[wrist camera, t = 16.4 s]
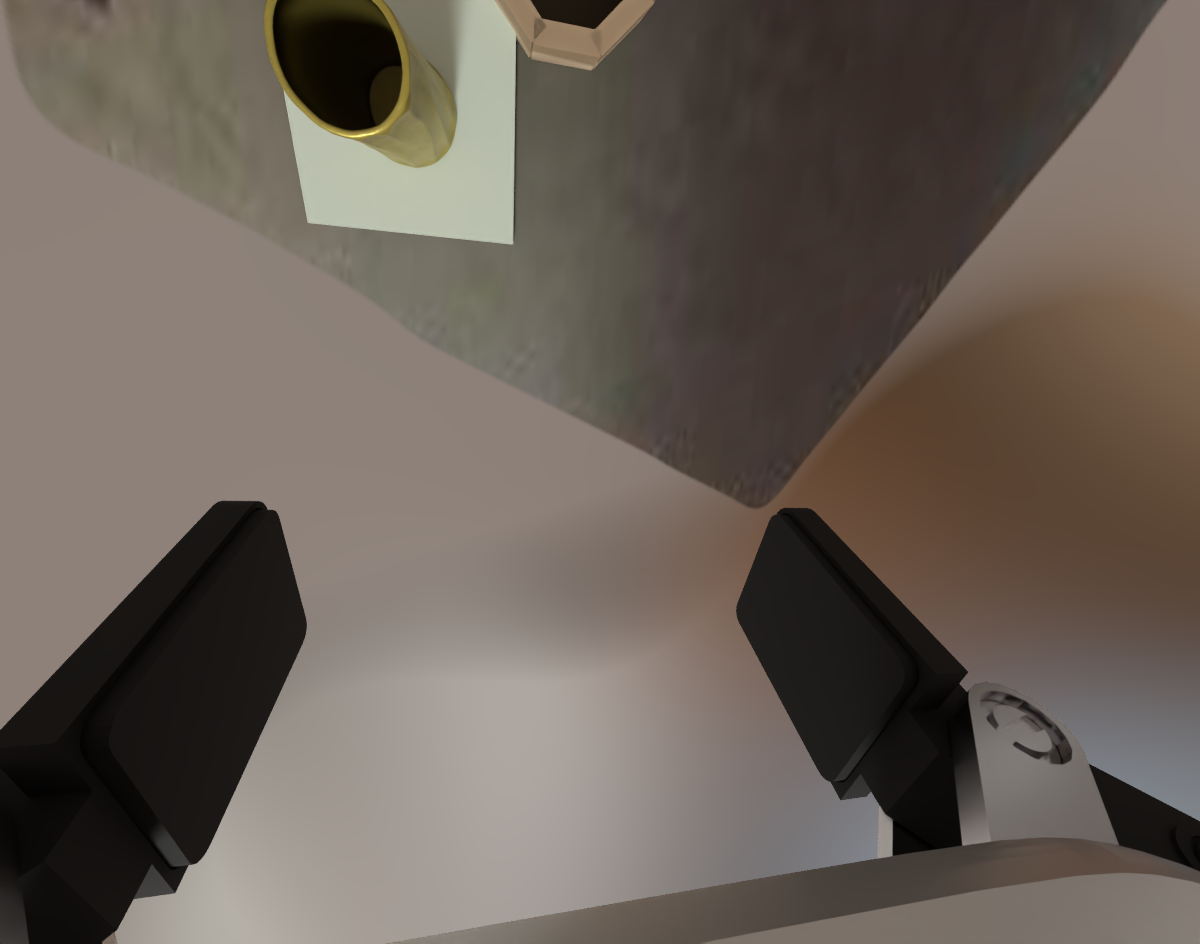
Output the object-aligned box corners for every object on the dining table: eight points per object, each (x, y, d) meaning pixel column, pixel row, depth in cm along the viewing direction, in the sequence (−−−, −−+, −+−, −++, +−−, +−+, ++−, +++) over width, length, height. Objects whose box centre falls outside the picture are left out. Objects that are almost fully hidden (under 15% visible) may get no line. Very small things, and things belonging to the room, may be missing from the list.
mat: (516, -8, 28) (516, -13, 28) (512, 243, 35) (513, 244, 35) (261, -62, 26) (254, -69, 25) (312, 222, 33) (307, 222, 32)
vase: (379, 175, 31) (298, 163, 19) (338, 56, 28) (210, -47, 16) (468, 159, 32) (443, 138, 20) (438, 41, 28) (386, -72, 16)
